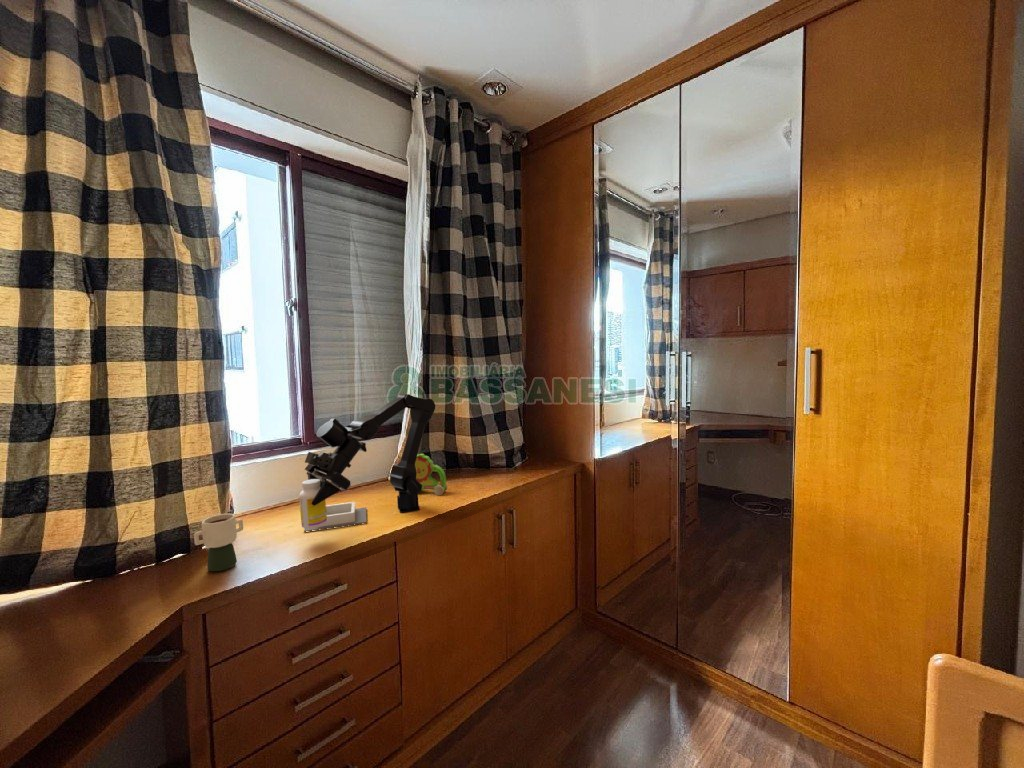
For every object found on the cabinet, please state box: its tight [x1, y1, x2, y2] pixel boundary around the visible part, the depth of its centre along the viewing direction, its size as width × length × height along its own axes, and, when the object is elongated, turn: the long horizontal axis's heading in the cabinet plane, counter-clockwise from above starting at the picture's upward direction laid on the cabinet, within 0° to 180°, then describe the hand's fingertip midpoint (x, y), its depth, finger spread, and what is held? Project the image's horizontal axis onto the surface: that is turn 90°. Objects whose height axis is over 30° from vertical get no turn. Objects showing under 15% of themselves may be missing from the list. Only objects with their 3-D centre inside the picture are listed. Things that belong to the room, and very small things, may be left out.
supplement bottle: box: [298, 479, 327, 530], centre depth 122 cm, size 7×7×13 cm
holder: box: [303, 501, 367, 532], centre depth 139 cm, size 18×14×4 cm
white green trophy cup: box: [193, 513, 244, 572], centre depth 108 cm, size 11×7×13 cm, turn 145°
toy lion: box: [415, 453, 448, 496], centre depth 164 cm, size 16×5×15 cm, turn 76°
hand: (307, 502), depth 121 cm, fingers closed on supplement bottle, 7 cm apart
